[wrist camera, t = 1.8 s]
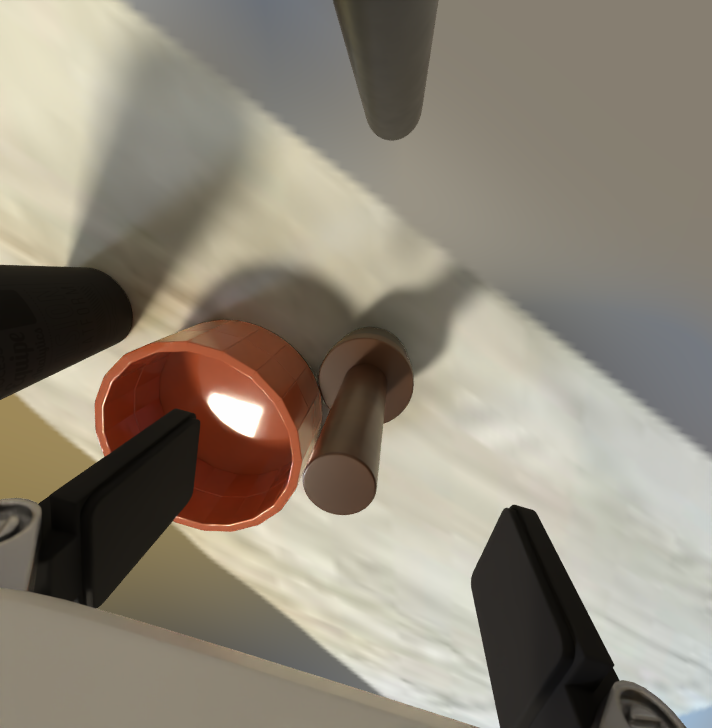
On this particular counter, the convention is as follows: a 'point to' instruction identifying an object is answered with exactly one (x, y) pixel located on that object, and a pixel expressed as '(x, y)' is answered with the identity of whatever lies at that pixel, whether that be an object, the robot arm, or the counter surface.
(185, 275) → the counter surface
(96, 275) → the drinking cup
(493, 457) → the counter surface
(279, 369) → the bowl
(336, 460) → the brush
